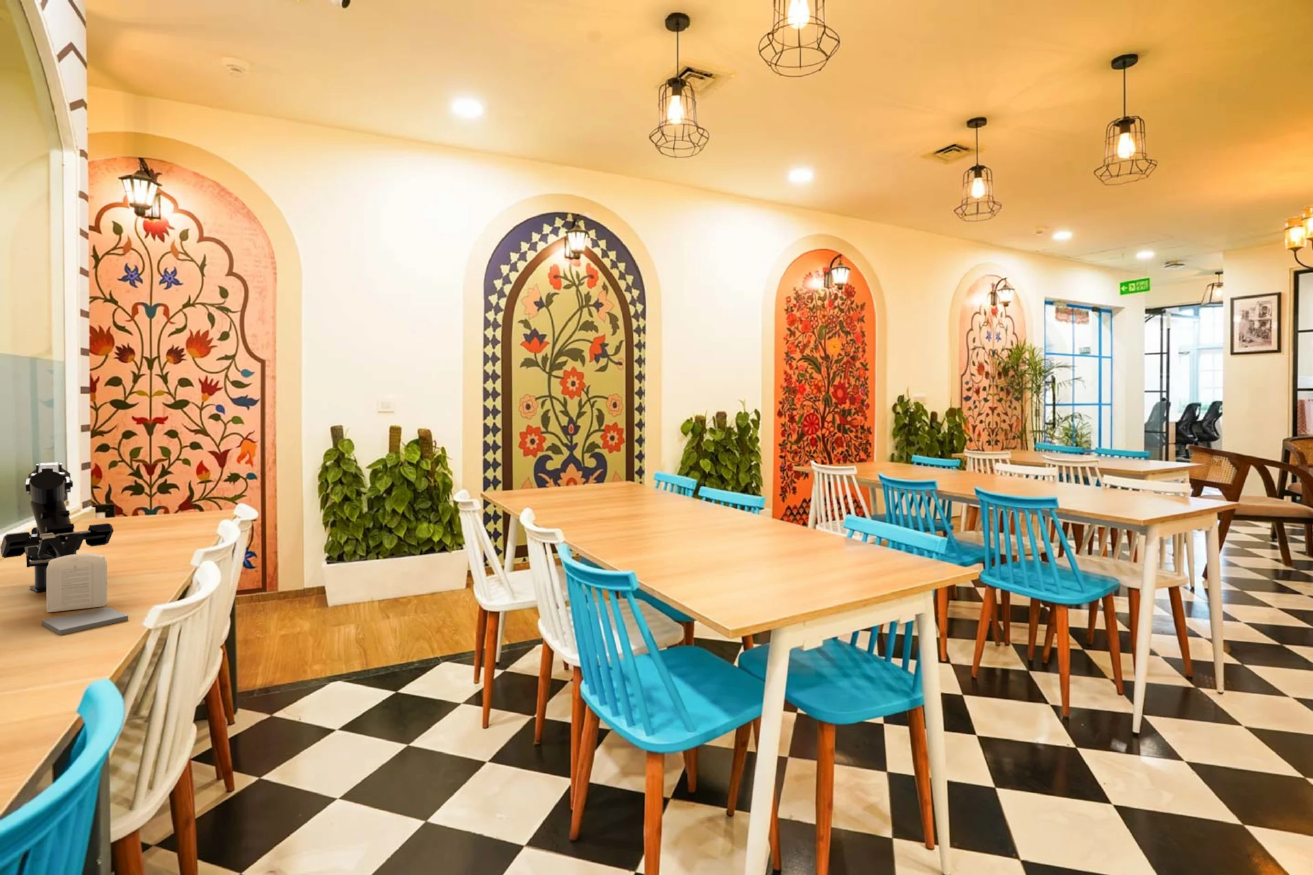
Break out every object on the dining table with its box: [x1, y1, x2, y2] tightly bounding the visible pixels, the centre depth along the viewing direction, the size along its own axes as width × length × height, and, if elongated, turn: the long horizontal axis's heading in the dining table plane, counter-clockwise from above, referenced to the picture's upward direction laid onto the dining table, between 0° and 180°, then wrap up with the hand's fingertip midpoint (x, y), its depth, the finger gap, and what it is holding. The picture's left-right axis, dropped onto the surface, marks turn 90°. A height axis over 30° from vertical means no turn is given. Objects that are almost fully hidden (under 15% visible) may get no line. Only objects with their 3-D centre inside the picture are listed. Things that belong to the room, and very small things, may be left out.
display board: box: [41, 606, 129, 636], centre depth 133 cm, size 11×11×1 cm
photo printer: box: [45, 553, 108, 613], centre depth 142 cm, size 10×4×12 cm, turn 123°
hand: (68, 568), depth 144 cm, fingers closed
